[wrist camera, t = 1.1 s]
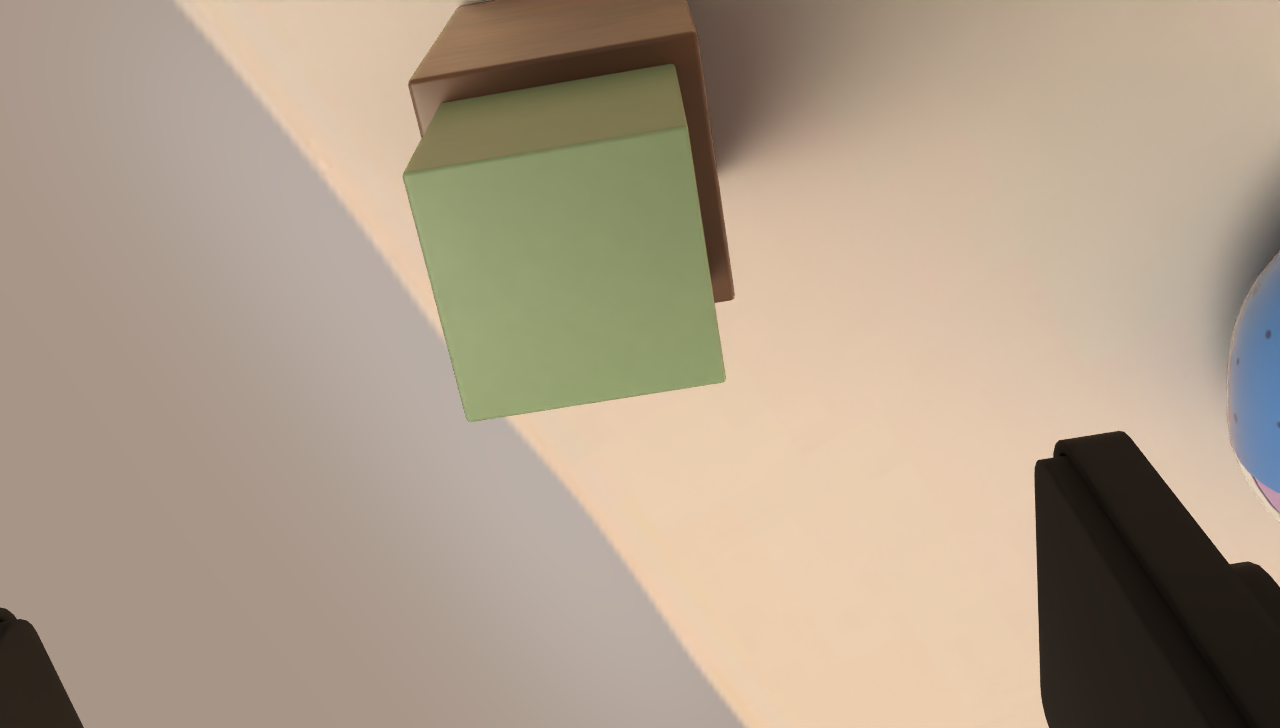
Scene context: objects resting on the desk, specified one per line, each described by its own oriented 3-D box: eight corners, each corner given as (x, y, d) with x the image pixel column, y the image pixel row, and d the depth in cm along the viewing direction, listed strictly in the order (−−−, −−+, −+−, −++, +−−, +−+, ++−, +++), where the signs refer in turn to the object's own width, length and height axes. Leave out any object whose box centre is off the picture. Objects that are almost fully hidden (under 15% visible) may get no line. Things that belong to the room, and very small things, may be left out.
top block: (491, 318, 25) (466, 424, 21) (439, 102, 23) (400, 173, 19) (708, 282, 25) (726, 383, 21) (674, 61, 23) (688, 125, 19)
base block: (503, 216, 32) (472, 343, 25) (456, 6, 30) (406, 80, 23) (708, 182, 32) (735, 301, 25) (676, -32, 30) (696, 31, 22)
